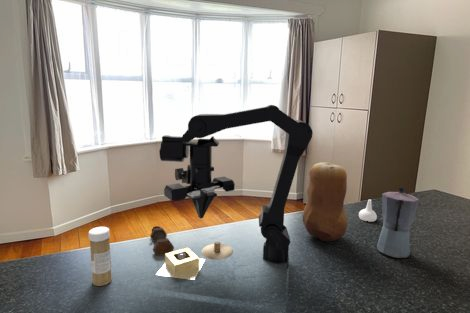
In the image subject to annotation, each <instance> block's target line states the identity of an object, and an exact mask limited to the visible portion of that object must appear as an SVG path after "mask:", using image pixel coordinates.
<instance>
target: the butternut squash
mask: <svg viewBox="0 0 470 313" xmlns="http://www.w3.org/2000/svg"><path fill="white" fill-rule="evenodd" d="M308 173H309V180H308V187H307V190H306V193H307V202H306V203H305V206H304V209H303V214H302V224H303V225H304V229H305V230H306V232H307V234H309V235H310V236H312V237H314V238H317V239H319V240H320V241H321V242H328V243H330V242H333V241H337V240H339V239H341V238H343V237H344V235H345V234H346V232H347V228H348V216H347V213H346V210H345V209H346V208H345V206H344V203H345V198H346V194H347V188H348V184H347V182H348V181H347V179H348V176H347V175H348V174H347V171H346V169H345V168H344V167H343V166H342V165H337V164H334V163H330V162H327V161H326V162H325V161H324V162H318V163H315V164H313V166H312V167H311V168H310V170H309V172H308Z"/></svg>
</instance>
